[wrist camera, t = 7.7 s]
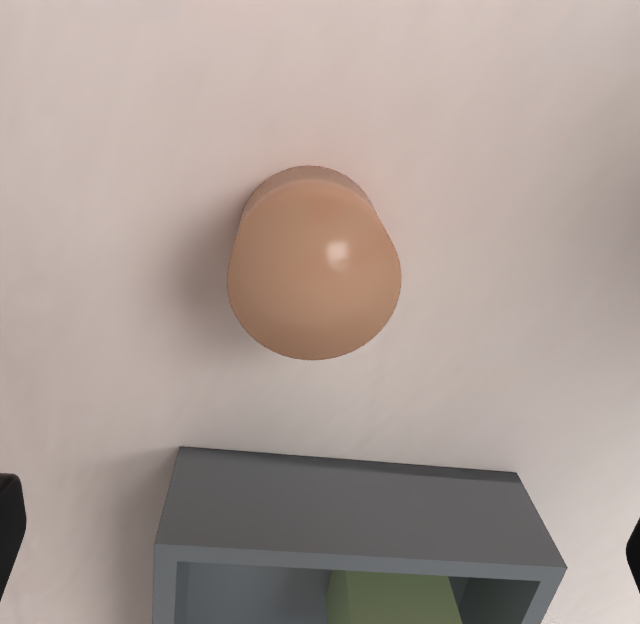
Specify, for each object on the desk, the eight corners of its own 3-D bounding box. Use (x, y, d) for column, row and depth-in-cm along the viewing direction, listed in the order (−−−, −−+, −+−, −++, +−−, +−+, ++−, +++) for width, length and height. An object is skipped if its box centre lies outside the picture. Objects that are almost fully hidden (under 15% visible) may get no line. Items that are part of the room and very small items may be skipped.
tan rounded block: (390, 175, 17) (418, 211, 13) (364, 305, 19) (383, 367, 15) (245, 155, 16) (234, 187, 13) (233, 290, 18) (221, 351, 15)
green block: (436, 537, 23) (464, 629, 19) (414, 602, 25) (436, 698, 21) (341, 531, 22) (351, 624, 19) (325, 597, 24) (332, 694, 21)
